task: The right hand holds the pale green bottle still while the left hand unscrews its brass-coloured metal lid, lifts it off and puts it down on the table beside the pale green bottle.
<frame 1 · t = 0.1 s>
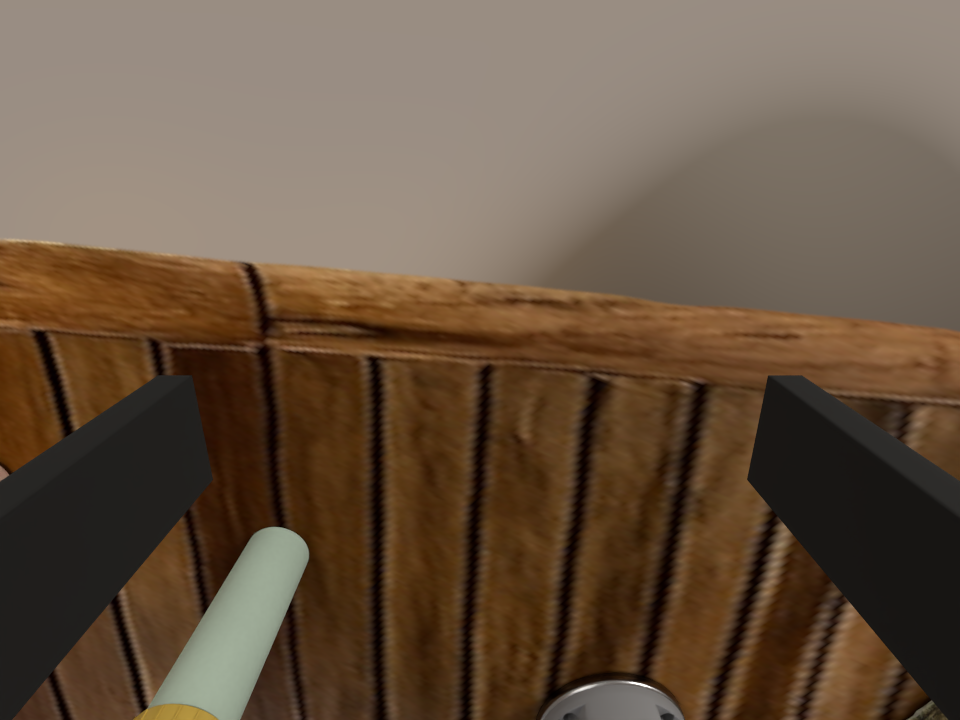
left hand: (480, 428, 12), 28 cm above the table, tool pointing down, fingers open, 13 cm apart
pale green bottle: (278, 551, 48), on the table
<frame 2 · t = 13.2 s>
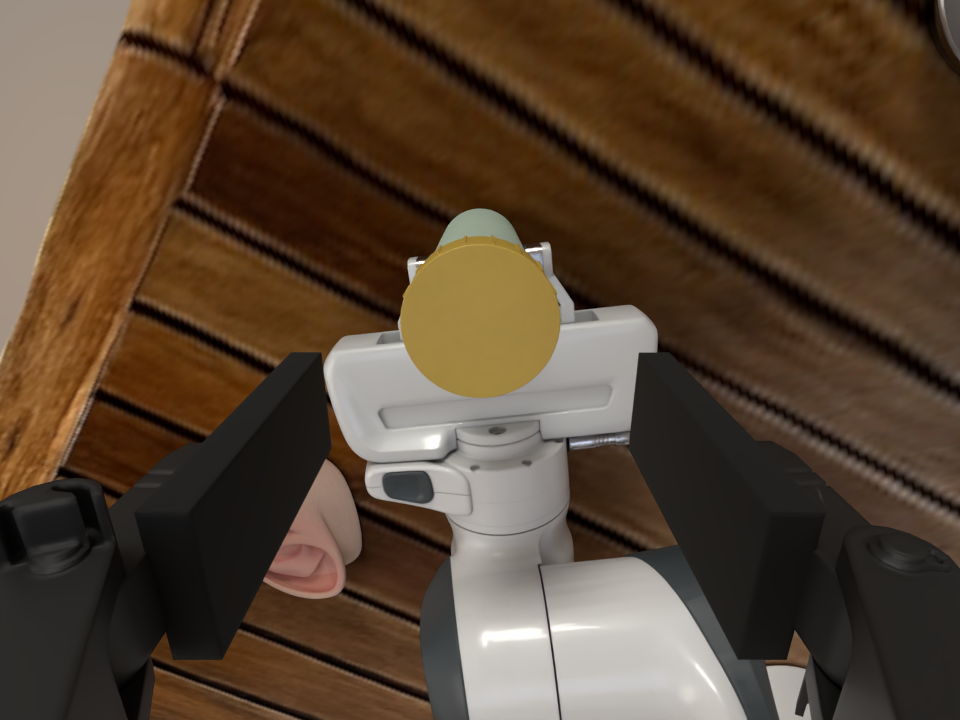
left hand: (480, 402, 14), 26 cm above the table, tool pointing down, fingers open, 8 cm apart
lid: (480, 322, 21), point 19 cm above the table, screwed on, not yet turned
pale green bottle: (480, 248, 38), on the table, touching right hand
anatomical model: (292, 506, 46), on the table
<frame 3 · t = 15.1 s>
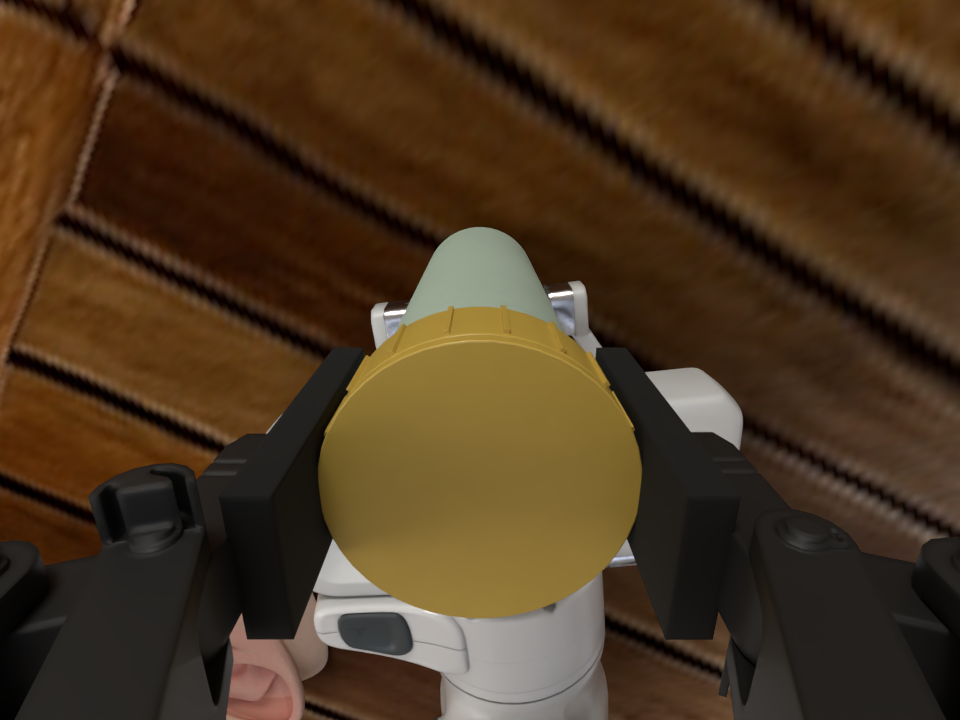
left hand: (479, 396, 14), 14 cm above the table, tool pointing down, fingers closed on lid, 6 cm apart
lid: (480, 483, 10), point 19 cm above the table, screwed on, not yet turned, touching left hand
pale green bottle: (479, 281, 28), on the table, touching right hand
anatomical model: (237, 607, 35), on the table
when the left hand's fingers open (15 cm above the table, at t = 16.4 s): lid stays where it is, point 19 cm above the table.
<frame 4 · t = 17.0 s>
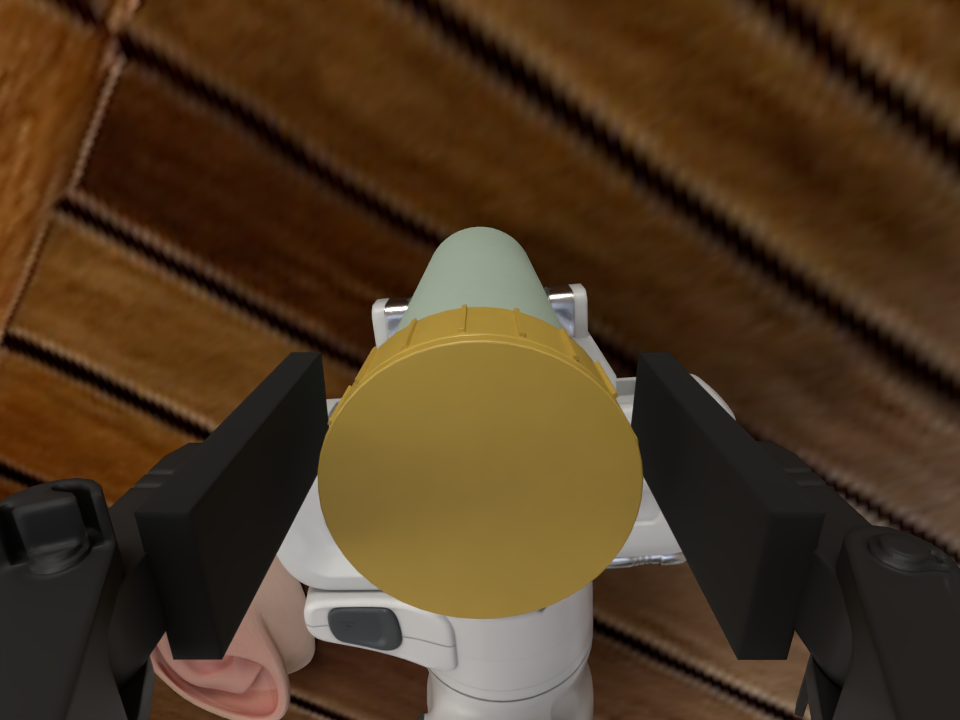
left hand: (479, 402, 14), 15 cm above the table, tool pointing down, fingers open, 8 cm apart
lid: (480, 484, 10), point 19 cm above the table, turned 57° so far, risen 0.1 cm, still on its thread
pale green bottle: (480, 280, 28), on the table, touching right hand
anatomical model: (225, 598, 35), on the table
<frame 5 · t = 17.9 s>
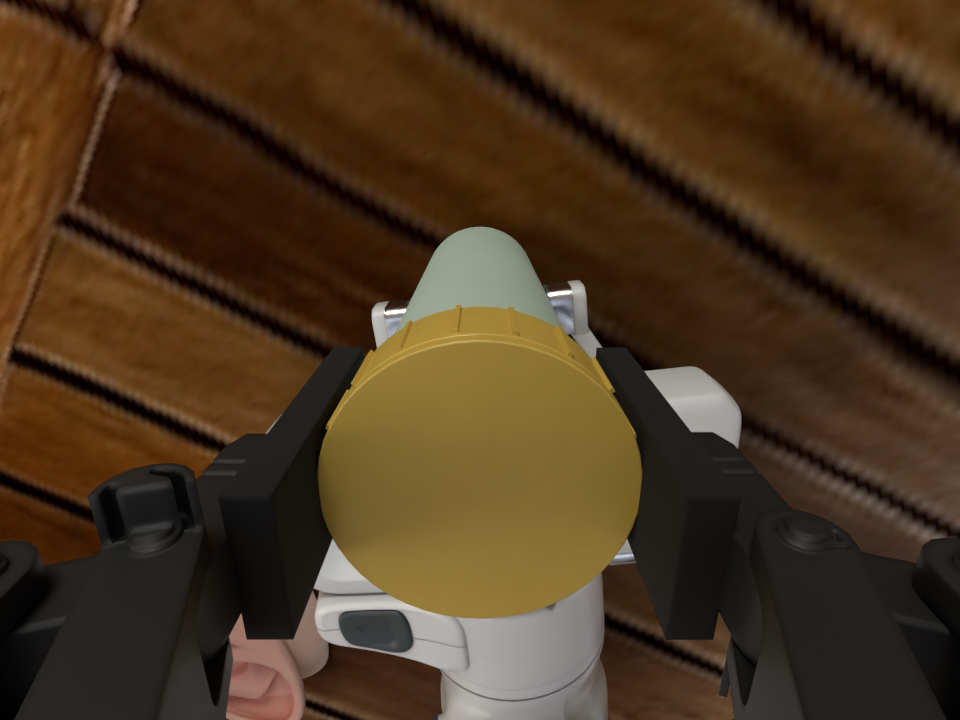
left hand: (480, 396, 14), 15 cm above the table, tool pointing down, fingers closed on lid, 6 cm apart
lid: (479, 484, 10), point 19 cm above the table, turned 57° so far, risen 0.1 cm, still on its thread, touching left hand
pale green bottle: (479, 280, 28), on the table, touching right hand
anatomical model: (238, 605, 35), on the table
when the left hand's fingers open (0 cm above the table, at t = 24.1 s): lid drops 2 cm, point 2 cm above the table.
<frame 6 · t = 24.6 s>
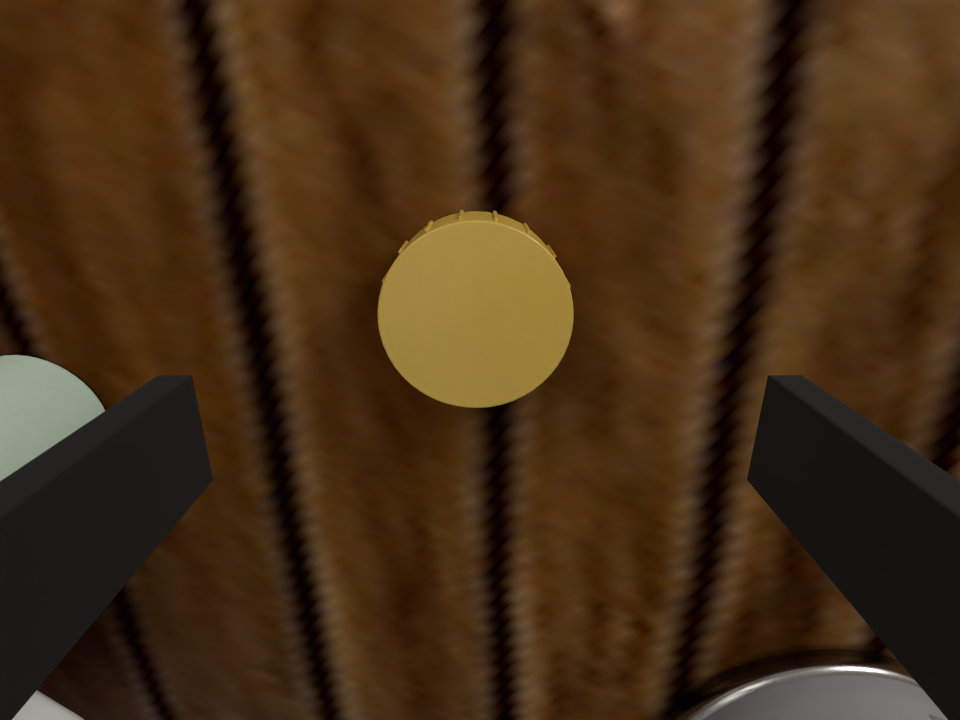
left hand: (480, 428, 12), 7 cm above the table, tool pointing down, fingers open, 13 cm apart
lid: (475, 317, 17), point 2 cm above the table, off its thread
pale green bottle: (38, 421, 20), on the table, touching right hand
when the right hand's fingers open (7 cm above the table, at t = 24.9 s): pale green bottle stays where it is, on the table.
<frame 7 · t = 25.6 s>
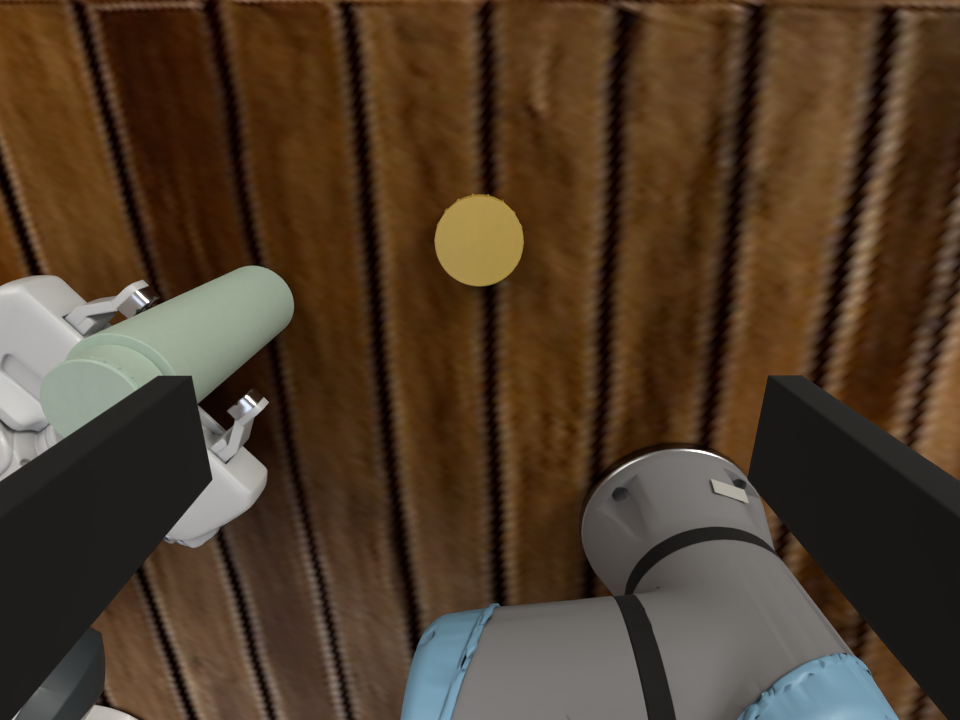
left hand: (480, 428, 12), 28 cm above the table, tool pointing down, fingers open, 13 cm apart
lid: (479, 242, 37), point 2 cm above the table, off its thread
pale green bottle: (257, 301, 40), on the table
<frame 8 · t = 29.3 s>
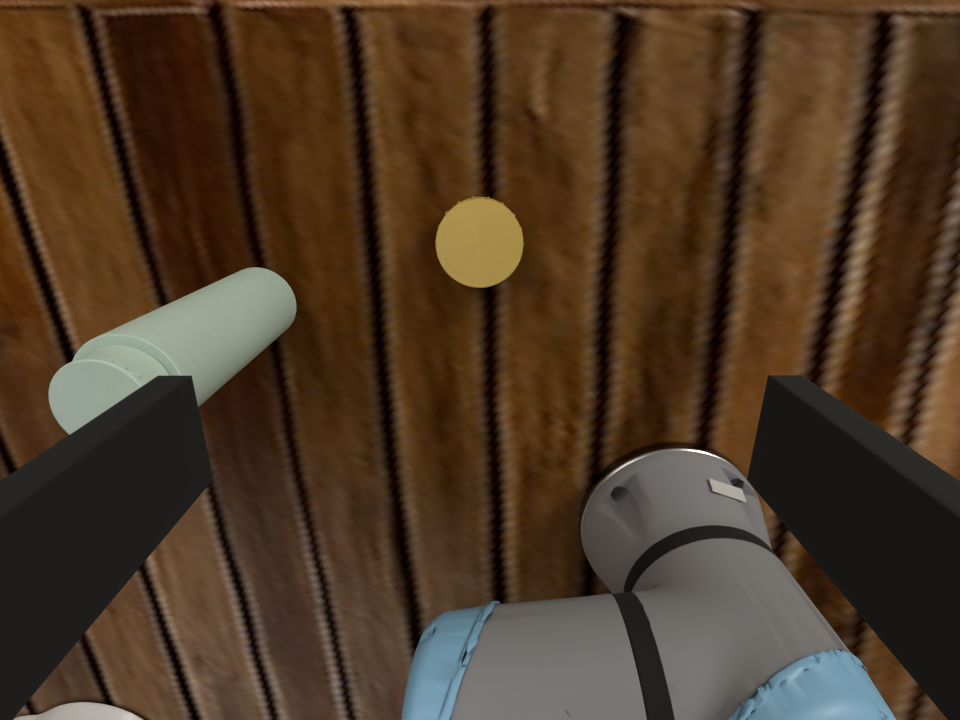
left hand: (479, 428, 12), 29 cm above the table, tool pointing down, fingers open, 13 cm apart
lid: (479, 243, 37), point 2 cm above the table, off its thread
pale green bottle: (260, 302, 41), on the table
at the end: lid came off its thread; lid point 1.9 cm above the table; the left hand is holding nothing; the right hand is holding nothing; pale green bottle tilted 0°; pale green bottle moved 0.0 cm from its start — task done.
